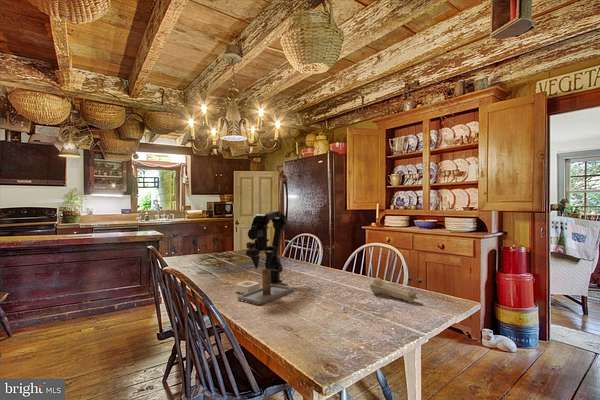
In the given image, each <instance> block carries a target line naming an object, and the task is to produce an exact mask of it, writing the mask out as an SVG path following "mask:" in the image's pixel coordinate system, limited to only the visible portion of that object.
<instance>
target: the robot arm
mask: <svg viewBox="0 0 600 400" xmlns="http://www.w3.org/2000/svg"><path fill="white" fill-rule="evenodd" d="M251 222H252V223H251V227H250V229H249V230H248V231H247V237H248V238H249V240H251V241H252V240H253V241H254V242H251V241H248V242H246V245H245V246H246V249H247V250H246V251H245V256H247V257H248V258H250V259H251V261H252V263H253V266H254V268H255V269H258V266H259V264H260V263H259V262H260V254H261V253H264V254H265V258H266V259H265V262H264V267H265V269H270V278H271V284H278V283H280V282H283V280H281V275H280V273H282V272H283V269H284V267H283V265H282V262H281V258H280V257H281V256H280V250H281V243H282V237H283V233H284V231H285V230H286V229H287V226H288V218H287V217H286V215H285V214H283V213H282V212H281V211H280V210H278V209H277V210H276V209H274V210H270V211H269V212H265V213H260V214H259V213H256V214H255V215H254V217H253V220H252V221H251ZM270 222H272V227H273V229H274V232H273V237H272V238H273V239H272V243H271V245H268V242H269V241H270V239H268V229H269V226H268V224H269V223H270Z"/></svg>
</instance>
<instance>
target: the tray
mask: <svg viewBox="0 0 600 400" xmlns="http://www.w3.org/2000/svg"><path fill="white" fill-rule="evenodd" d="M289 292H290V293H293V292H294V287H293V286H288V285H287V286H286V285H281V284H278V283H271V294H270V295H263V286H261V287H260V288H259V289H256V290H254V291H251V292H248V293H245V294H242V293H241V294H240V295H237V300H238V299H239V300H238V301H240V300H243V301H242V302H244V301H247V302H246V303H248V302H250V303H249V304H252V303H254V304H253V305H256V304H258V305H257V306H261V305H260V304H262V305H264V304H266V303H268V302H267V301H269V302H270V300H271V301H273V300H275V298H276V299H278V298H280V297H283V296H285V295H288V294H289ZM287 293H288V294H287ZM284 294H285V295H284ZM282 295H283V296H282ZM279 296H280V297H279ZM277 297H278V298H277ZM272 299H273V300H272ZM265 302H266V303H265ZM263 303H264V304H263Z"/></svg>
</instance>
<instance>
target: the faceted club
mask: <svg viewBox="0 0 600 400" xmlns="http://www.w3.org/2000/svg"><path fill="white" fill-rule="evenodd" d="M369 287H370V291H371V292H372V293H373V294H374V295H380V294H387V295H388V296H393V297H396V298H398V299H402V300H404V301H405V302H408V303H413V302H414V301H415V300H418V299H419V298H418V297H417V293H416V292H415V291H414V290H408V289H404V288H401V287H397V286H394V285H391V284H388V283H386V282H385V281H384V280H383V279H382V278H380V277H375V278H374V279H372V280H371V281H370V282H369Z"/></svg>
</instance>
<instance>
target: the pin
mask: <svg viewBox="0 0 600 400" xmlns="http://www.w3.org/2000/svg"><path fill="white" fill-rule="evenodd" d="M261 272H262V275H261V276H262V277H261V278H262V281H261V282H262V287H263V295H270V294H271V284H272V283H271V278H270V269H266V268H265V269H262V271H261Z"/></svg>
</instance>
